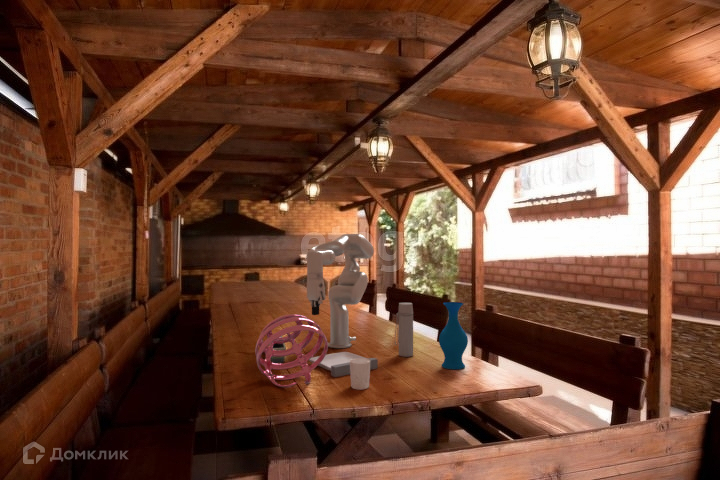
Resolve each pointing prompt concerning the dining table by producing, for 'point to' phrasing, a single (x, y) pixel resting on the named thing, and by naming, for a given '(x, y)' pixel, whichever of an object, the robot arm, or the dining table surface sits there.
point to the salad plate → (335, 359)
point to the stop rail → (345, 368)
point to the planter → (278, 347)
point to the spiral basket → (295, 348)
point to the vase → (453, 339)
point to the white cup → (360, 373)
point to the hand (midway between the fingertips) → (315, 314)
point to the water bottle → (405, 329)
